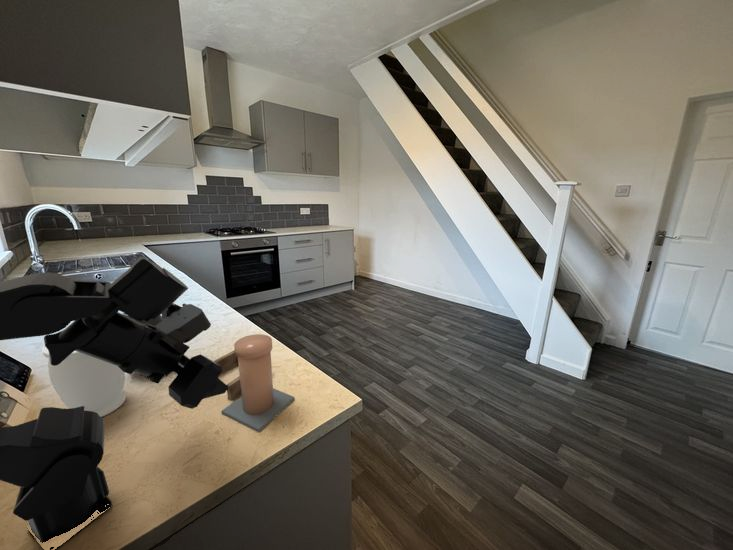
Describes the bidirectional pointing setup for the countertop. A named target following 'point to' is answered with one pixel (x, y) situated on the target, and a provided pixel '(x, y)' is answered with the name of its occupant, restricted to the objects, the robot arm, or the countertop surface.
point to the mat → (261, 419)
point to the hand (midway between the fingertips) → (210, 379)
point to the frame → (227, 363)
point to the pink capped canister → (255, 372)
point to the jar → (87, 383)
